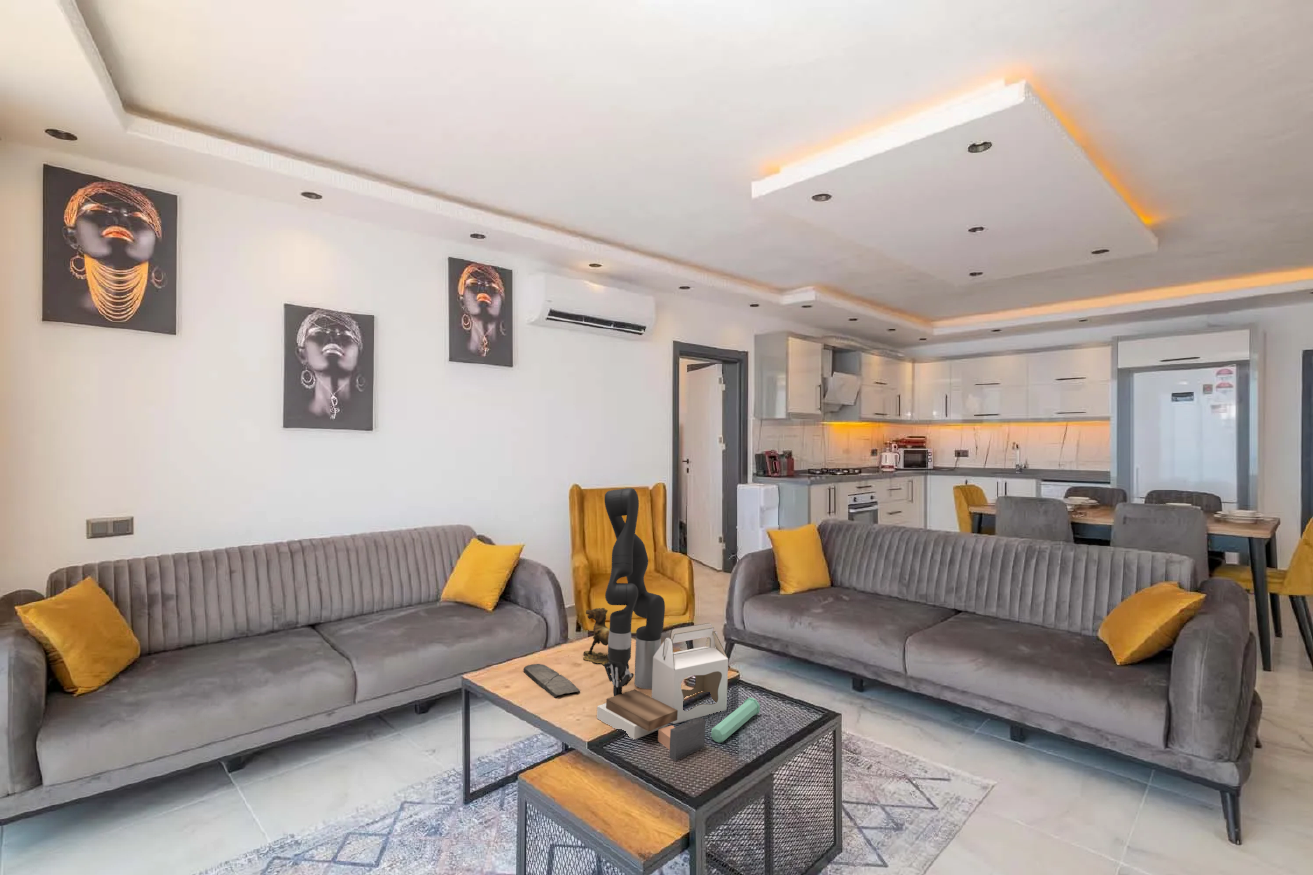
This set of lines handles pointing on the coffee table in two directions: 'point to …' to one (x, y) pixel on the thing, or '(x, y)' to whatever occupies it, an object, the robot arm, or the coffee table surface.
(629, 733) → the riser
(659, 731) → the support block
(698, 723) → the block
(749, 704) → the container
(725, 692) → the gable box
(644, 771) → the coffee table surface
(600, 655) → the figurine
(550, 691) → the stone slab
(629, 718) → the plank
